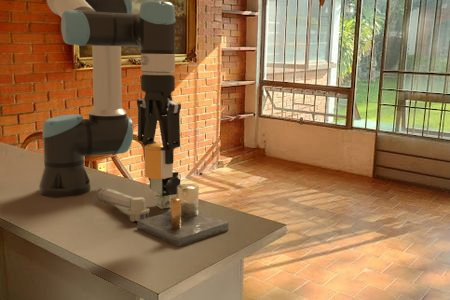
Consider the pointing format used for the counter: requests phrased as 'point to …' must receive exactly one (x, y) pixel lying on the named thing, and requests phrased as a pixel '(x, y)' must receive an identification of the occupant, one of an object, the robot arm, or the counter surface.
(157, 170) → the orange acorn nut
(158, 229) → the grey slab with post
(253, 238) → the counter surface
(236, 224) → the counter surface
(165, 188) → the pneumatic valve
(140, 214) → the white handheld device
